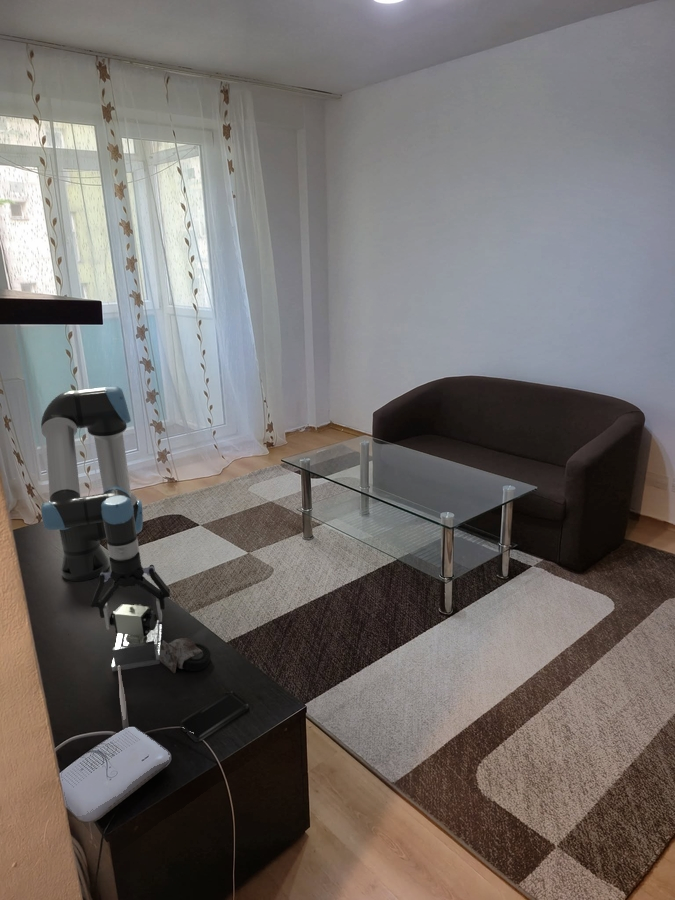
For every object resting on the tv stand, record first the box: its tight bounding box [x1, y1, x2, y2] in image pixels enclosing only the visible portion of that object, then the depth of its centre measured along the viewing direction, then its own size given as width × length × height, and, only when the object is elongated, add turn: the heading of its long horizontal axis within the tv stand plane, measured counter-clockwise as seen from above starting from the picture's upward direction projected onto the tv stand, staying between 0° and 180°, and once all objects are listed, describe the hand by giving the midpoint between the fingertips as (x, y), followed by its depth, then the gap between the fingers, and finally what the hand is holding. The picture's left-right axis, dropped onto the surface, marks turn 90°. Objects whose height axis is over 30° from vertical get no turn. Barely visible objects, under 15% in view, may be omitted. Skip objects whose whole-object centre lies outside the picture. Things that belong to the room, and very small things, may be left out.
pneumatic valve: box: [110, 603, 158, 645], centre depth 169 cm, size 6×12×12 cm, turn 79°
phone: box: [179, 690, 249, 743], centre depth 146 cm, size 8×1×15 cm
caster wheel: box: [159, 637, 211, 674], centre depth 164 cm, size 7×11×10 cm
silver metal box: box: [111, 619, 163, 672], centre depth 170 cm, size 16×12×6 cm
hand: (134, 622), depth 169 cm, fingers open, 13 cm apart
